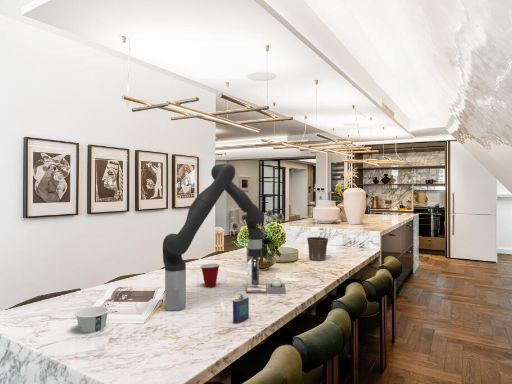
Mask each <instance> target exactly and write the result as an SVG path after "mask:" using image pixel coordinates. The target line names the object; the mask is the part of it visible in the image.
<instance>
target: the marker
mask: <svg viewBox="0 0 512 384" xmlns="http://www.w3.org/2000/svg"><path fill="white" fill-rule="evenodd" d="M250 264H251V265H250V269H252V263H250ZM254 271H256V269H254ZM257 272H258V273H257V280H253V273H252V272H251V284H252V285H259V284H260V263H258V269H257Z"/></svg>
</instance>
